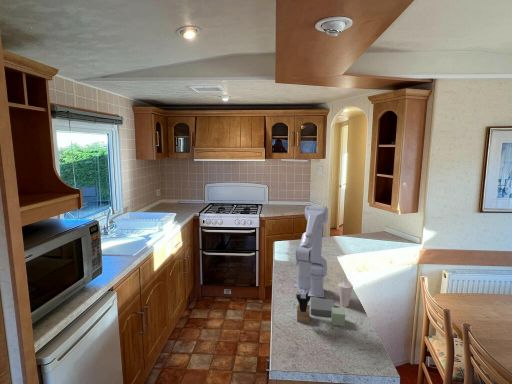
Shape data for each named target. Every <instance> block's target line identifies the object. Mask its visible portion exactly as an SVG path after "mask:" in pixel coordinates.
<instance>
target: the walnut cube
mask: <svg viewBox="0 0 512 384" xmlns="http://www.w3.org/2000/svg"><path fill="white" fill-rule="evenodd" d="M310 315H311V304H308V305H307V309H306V312H301V311H300V307H299V303H298V304H297V308H296V322H297V323H298V322H300V323H308V324H309V323H310Z"/></svg>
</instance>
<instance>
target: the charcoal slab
mask: <svg viewBox="0 0 512 384" xmlns="http://www.w3.org/2000/svg"><path fill="white" fill-rule="evenodd" d="M332 307H334V308H335V301H334V299H331V298H330V299H327V298H320V297H311V298H310V315H312V316H322V315H323V317H331V311H332Z"/></svg>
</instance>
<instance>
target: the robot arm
mask: <svg viewBox="0 0 512 384" xmlns="http://www.w3.org/2000/svg"><path fill="white" fill-rule="evenodd" d="M328 217H329V209H328V207H327V206H316V205H308V204H307V205H306V206H305V208H304V218H305V220H306V221H307V222H306V223H307V224H306V229H305V232H303V233H302V235H301V240H300V242H299V246H298V247H297V248H296V249H295V264H296V265H297V266H296V267H297V268H296V269H297V270H296V271H297V272H296V273H297V274H296V283H295V284H293V288H294V289H297V291H298V292H299V293H296V300H297V303H298V304H299V307H300V311H301V312H306V309H307V305H309V301H311V298H324V297H325V290H324V278H325V277H326V276H327V274H328V272H327V271H328V263H327V262H328V261H327V260H326V259H325V258H324V257H323V256H322V248H323V247H322V245H323V244H322V243H323V226H324V225H325V224H326V223H328Z"/></svg>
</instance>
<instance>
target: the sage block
mask: <svg viewBox="0 0 512 384" xmlns="http://www.w3.org/2000/svg"><path fill="white" fill-rule="evenodd" d="M345 311H346V310H345V307H344V308H343V307H335V306H334V307H332V311H331V316H330V317H331V318H330V319H331V325H332V326H338V325H339V326H340V327H345V326H346V312H345Z"/></svg>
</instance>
